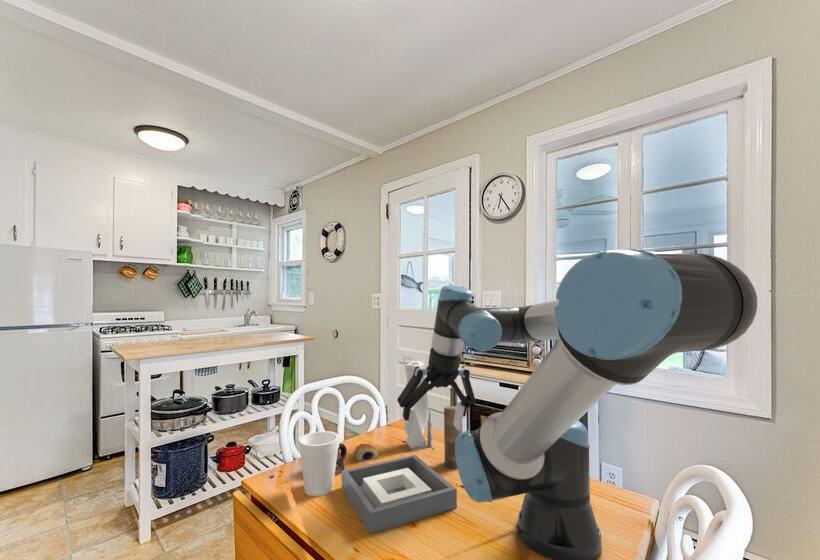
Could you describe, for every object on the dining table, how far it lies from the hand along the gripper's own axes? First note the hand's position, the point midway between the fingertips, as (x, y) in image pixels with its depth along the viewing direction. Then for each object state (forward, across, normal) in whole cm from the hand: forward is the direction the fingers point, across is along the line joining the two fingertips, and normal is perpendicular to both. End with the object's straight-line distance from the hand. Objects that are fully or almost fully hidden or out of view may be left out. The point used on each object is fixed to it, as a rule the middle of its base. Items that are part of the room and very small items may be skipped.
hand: (432, 429), depth 94 cm
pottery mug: (+20, +22, -12) cm, 32 cm away
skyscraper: (+20, -6, -20) cm, 29 cm away
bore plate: (+12, +10, +7) cm, 17 cm away
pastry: (+21, +11, -18) cm, 29 cm away
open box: (+13, +10, +7) cm, 18 cm away
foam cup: (+17, +26, -2) cm, 31 cm away
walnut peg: (+15, -10, -3) cm, 18 cm away
